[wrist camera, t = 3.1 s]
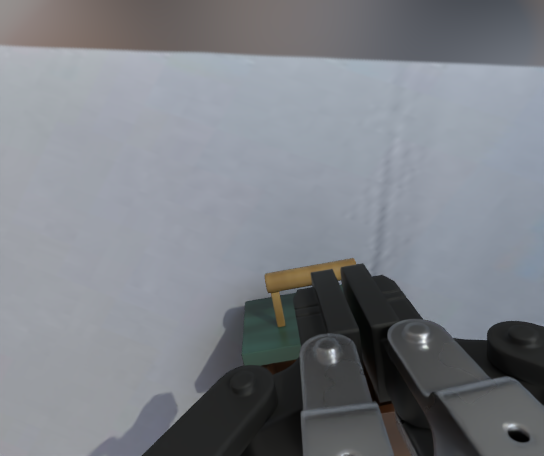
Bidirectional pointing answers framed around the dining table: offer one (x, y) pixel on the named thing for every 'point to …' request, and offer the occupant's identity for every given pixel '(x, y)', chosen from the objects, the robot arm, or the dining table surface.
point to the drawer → (283, 321)
